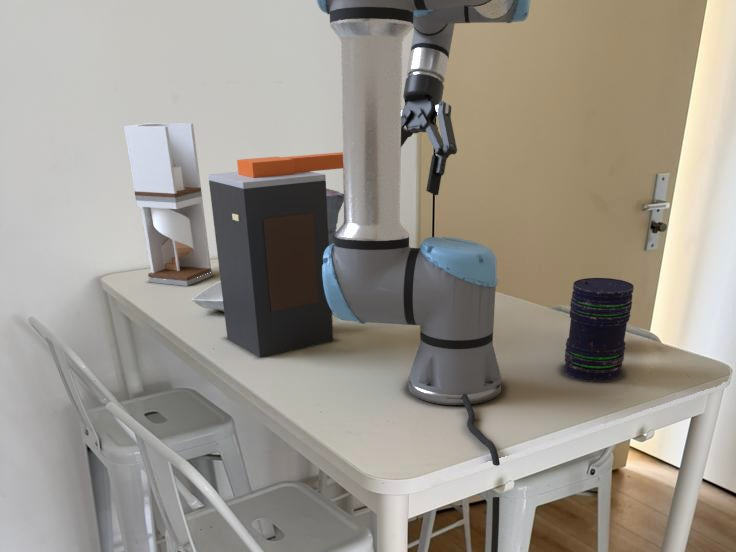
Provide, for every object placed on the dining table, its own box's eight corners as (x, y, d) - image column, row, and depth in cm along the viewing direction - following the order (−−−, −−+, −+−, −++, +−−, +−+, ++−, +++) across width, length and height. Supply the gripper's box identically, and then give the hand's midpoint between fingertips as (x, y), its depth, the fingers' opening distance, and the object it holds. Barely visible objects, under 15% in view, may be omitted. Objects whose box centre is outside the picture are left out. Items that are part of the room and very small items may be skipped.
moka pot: (344, 264, 207) (341, 184, 197) (289, 262, 210) (284, 183, 199) (353, 256, 215) (350, 179, 205) (300, 255, 218) (295, 178, 207)
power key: (338, 165, 147) (338, 151, 145) (355, 168, 142) (355, 154, 141) (238, 174, 136) (236, 159, 135) (253, 177, 132) (252, 162, 131)
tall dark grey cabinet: (297, 324, 160) (286, 167, 145) (333, 341, 150) (326, 174, 135) (226, 338, 152) (206, 174, 137) (259, 357, 142) (242, 182, 127)
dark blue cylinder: (628, 368, 135) (641, 281, 128) (612, 385, 128) (625, 295, 120) (573, 359, 140) (583, 275, 132) (554, 375, 132) (564, 287, 125)
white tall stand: (149, 282, 193) (123, 126, 175) (175, 272, 201) (152, 122, 183) (187, 285, 189) (165, 126, 171) (211, 276, 197) (193, 123, 180)
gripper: (488, 79, 143) (467, 197, 146) (392, 96, 160) (375, 202, 163) (463, 61, 138) (442, 185, 141) (366, 81, 154) (349, 191, 158)
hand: (406, 194), depth 152 cm, fingers open, 13 cm apart
